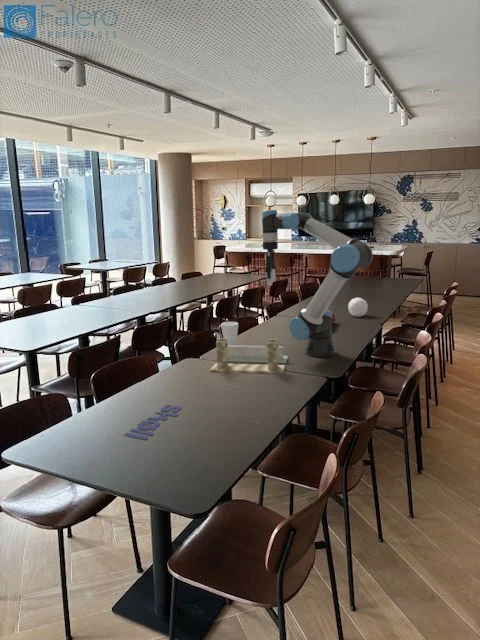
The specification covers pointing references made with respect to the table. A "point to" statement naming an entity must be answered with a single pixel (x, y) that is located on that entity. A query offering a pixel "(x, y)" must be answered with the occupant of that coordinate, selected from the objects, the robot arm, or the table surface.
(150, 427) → the signage
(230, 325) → the foam cup
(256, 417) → the table surface
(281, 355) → the rail bar
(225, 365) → the rail stand
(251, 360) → the green board
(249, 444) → the table surface
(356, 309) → the geodesic sphere
